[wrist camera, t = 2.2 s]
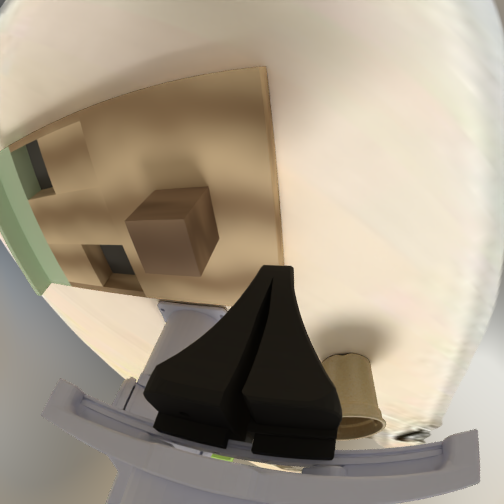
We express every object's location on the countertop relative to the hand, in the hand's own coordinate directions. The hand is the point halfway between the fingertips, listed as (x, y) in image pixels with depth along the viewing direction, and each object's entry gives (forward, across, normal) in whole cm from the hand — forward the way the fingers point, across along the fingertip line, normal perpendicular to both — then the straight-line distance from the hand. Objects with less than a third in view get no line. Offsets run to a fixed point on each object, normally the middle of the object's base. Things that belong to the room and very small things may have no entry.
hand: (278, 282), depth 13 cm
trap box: (+9, +16, 0) cm, 18 cm away
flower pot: (+9, -6, +22) cm, 25 cm away
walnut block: (+6, +7, 0) cm, 9 cm away
